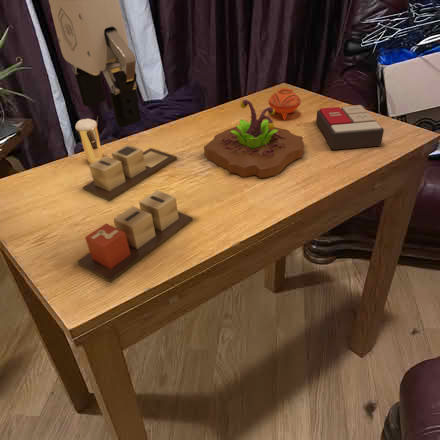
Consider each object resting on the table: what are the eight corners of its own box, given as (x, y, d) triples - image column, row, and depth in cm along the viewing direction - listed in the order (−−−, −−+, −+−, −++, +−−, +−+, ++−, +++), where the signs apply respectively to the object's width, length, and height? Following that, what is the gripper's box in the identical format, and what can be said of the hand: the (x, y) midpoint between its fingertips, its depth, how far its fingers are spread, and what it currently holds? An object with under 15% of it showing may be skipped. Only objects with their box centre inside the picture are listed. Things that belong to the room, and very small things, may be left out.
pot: (261, 118, 107) (264, 88, 103) (274, 114, 112) (277, 86, 109) (291, 122, 103) (295, 91, 100) (303, 118, 109) (307, 89, 106)
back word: (83, 189, 87) (75, 166, 84) (151, 150, 98) (147, 128, 95) (109, 201, 84) (103, 177, 80) (177, 159, 94) (173, 136, 91)
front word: (78, 264, 70) (68, 238, 67) (160, 206, 81) (156, 182, 78) (110, 282, 67) (102, 256, 63) (192, 220, 77) (189, 195, 74)
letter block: (92, 259, 70) (84, 236, 67) (112, 245, 72) (106, 222, 69) (110, 269, 68) (103, 246, 65) (131, 254, 70) (125, 231, 67)
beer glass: (107, 165, 94) (95, 119, 87) (83, 166, 94) (70, 121, 87) (111, 155, 97) (100, 111, 90) (88, 156, 98) (75, 112, 91)
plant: (247, 126, 104) (246, 77, 96) (316, 147, 95) (322, 95, 87) (190, 158, 94) (185, 107, 86) (261, 186, 84) (262, 130, 77)
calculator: (362, 103, 102) (385, 126, 90) (359, 121, 104) (381, 145, 93) (316, 106, 101) (334, 130, 90) (315, 125, 104) (331, 150, 93)
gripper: (9, -53, 48) (58, 103, 60) (72, -43, 38) (117, 143, 50) (71, -62, 51) (106, 89, 63) (145, -55, 41) (170, 123, 53)
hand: (111, 113), depth 56 cm, fingers open, 9 cm apart
